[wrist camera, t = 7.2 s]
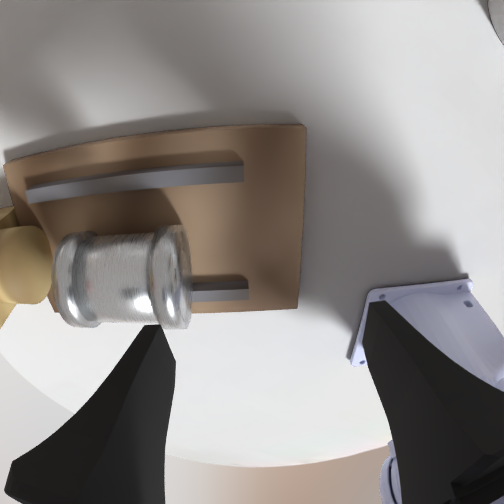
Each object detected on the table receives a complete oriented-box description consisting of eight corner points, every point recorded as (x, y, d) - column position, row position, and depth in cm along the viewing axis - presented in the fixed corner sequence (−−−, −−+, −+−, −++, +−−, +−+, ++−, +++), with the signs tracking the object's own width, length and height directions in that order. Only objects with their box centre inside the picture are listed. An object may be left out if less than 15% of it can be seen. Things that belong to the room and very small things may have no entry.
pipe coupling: (178, 203, 14) (168, 305, 12) (194, 258, 19) (191, 341, 16) (67, 212, 14) (42, 304, 12) (101, 262, 18) (89, 339, 16)
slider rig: (302, 124, 15) (367, 181, 8) (295, 298, 21) (320, 415, 13) (-35, 174, 14) (-119, 238, 7) (13, 301, 20) (-35, 383, 13)
